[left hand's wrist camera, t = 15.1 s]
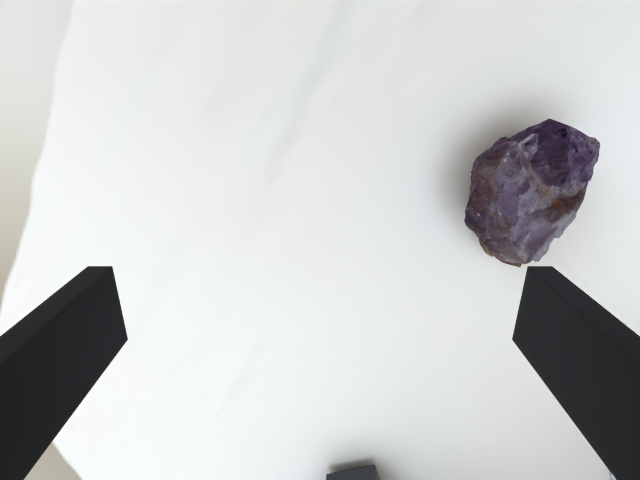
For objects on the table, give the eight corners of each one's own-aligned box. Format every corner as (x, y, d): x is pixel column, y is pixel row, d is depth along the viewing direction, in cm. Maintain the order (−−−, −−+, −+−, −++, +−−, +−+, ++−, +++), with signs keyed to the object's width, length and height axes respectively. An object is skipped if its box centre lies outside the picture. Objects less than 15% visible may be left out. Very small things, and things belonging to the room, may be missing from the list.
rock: (565, 145, 37) (467, 108, 35) (647, 146, 28) (523, 97, 27) (513, 262, 39) (419, 232, 37) (574, 295, 31) (456, 258, 29)
